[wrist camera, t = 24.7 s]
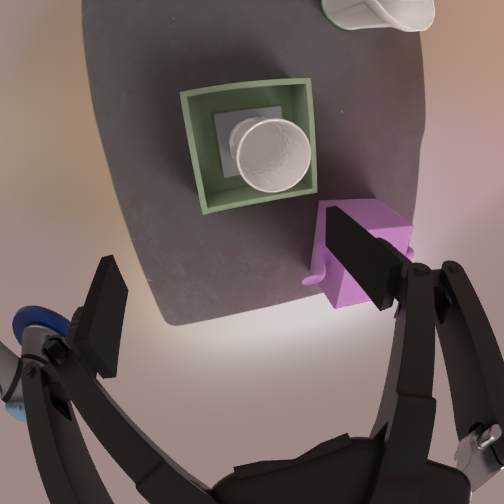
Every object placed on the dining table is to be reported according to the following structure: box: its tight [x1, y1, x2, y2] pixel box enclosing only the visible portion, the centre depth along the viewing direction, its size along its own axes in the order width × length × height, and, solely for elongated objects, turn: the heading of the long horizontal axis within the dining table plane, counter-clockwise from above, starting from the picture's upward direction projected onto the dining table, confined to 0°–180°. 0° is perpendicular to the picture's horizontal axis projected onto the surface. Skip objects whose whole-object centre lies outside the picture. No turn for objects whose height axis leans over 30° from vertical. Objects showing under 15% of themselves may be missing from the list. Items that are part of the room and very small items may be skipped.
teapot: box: [302, 199, 414, 309], centre depth 46 cm, size 15×25×14 cm, turn 89°
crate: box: [180, 78, 317, 214], centre depth 36 cm, size 17×17×7 cm
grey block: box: [212, 105, 282, 178], centre depth 37 cm, size 9×9×4 cm
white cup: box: [228, 117, 311, 193], centre depth 31 cm, size 8×8×10 cm
